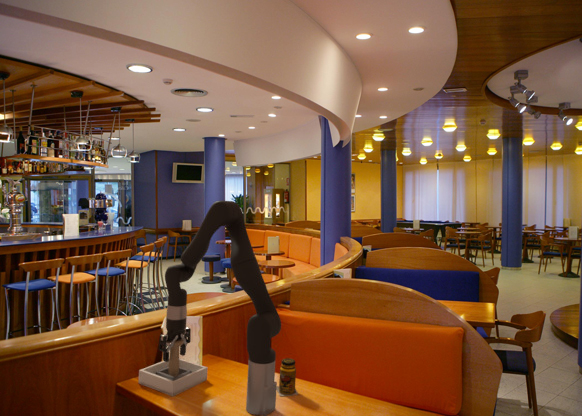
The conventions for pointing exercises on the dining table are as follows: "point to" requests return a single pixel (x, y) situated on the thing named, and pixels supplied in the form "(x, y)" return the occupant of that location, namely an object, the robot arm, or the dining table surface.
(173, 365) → the handle
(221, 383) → the dining table surface
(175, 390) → the box
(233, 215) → the robot arm
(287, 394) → the condiment
